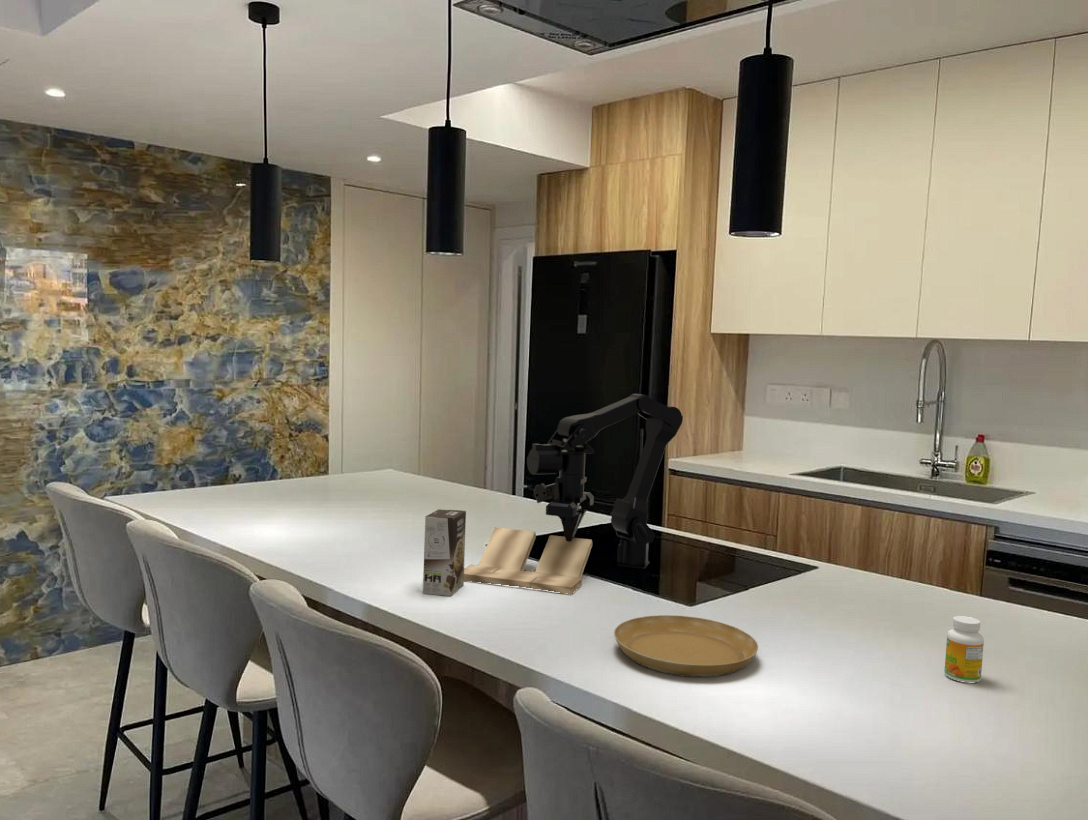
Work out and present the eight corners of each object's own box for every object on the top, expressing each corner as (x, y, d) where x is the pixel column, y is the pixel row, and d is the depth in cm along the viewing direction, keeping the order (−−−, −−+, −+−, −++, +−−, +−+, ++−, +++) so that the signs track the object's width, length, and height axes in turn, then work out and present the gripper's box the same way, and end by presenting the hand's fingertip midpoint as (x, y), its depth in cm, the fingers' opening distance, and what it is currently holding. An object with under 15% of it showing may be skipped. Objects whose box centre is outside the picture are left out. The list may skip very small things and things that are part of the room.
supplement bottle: (937, 671, 143) (941, 614, 143) (968, 671, 144) (972, 614, 143) (955, 684, 138) (960, 624, 137) (987, 684, 139) (992, 625, 138)
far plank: (536, 536, 202) (535, 531, 201) (520, 575, 193) (519, 570, 192) (496, 531, 205) (495, 527, 204) (479, 570, 196) (478, 565, 195)
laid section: (581, 585, 187) (582, 577, 187) (571, 595, 180) (571, 587, 180) (470, 571, 195) (471, 564, 195) (456, 580, 188) (456, 572, 188)
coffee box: (451, 596, 175) (454, 518, 174) (421, 593, 177) (423, 515, 175) (464, 585, 184) (467, 510, 183) (436, 582, 186) (438, 507, 184)
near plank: (592, 544, 198) (591, 539, 197) (579, 582, 189) (578, 577, 188) (550, 540, 201) (550, 535, 200) (535, 577, 192) (534, 572, 191)
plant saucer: (785, 677, 139) (787, 657, 139) (647, 689, 132) (648, 668, 132) (714, 629, 162) (715, 611, 162) (593, 637, 155) (594, 618, 155)
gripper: (550, 465, 208) (548, 529, 209) (524, 475, 190) (522, 545, 191) (595, 469, 204) (592, 534, 206) (573, 479, 187) (570, 551, 188)
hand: (569, 540), depth 198 cm, fingers closed
